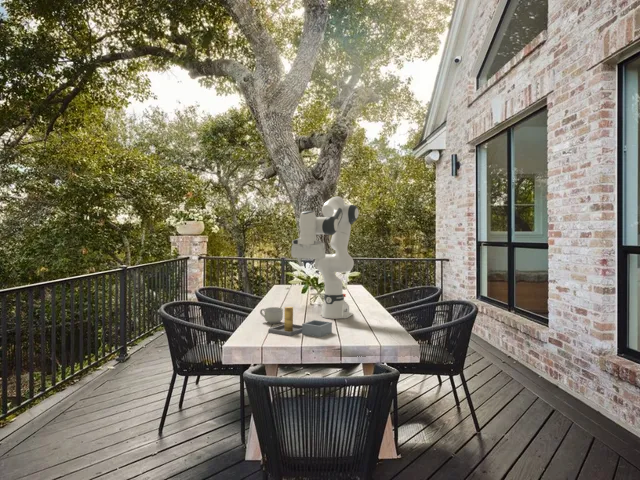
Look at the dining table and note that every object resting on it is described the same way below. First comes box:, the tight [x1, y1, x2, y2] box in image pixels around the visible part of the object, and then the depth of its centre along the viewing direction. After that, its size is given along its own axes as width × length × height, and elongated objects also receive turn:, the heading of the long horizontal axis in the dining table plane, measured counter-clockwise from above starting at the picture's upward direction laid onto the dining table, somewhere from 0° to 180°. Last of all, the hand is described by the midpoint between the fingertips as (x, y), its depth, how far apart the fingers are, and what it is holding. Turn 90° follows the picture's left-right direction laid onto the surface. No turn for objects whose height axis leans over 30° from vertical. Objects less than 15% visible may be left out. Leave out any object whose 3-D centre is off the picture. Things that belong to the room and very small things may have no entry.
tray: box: [268, 323, 302, 337], centre depth 211 cm, size 16×14×2 cm
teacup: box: [259, 306, 284, 325], centre depth 235 cm, size 14×11×8 cm
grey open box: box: [301, 319, 333, 338], centre depth 206 cm, size 11×11×6 cm
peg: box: [283, 306, 294, 332], centre depth 211 cm, size 4×4×12 cm
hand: (308, 266), depth 217 cm, fingers open, 8 cm apart
